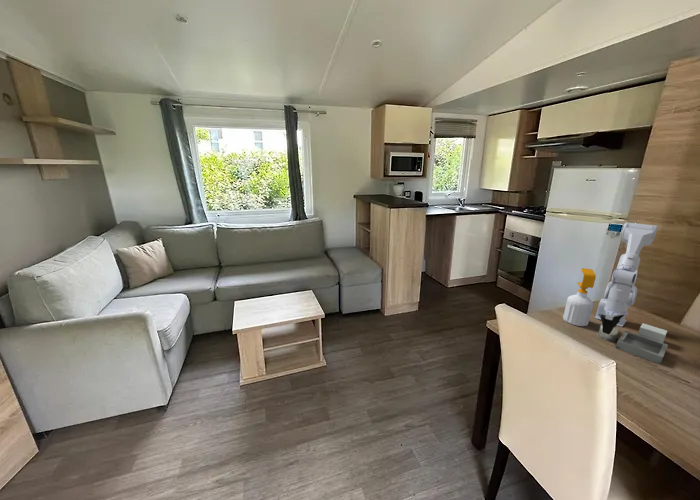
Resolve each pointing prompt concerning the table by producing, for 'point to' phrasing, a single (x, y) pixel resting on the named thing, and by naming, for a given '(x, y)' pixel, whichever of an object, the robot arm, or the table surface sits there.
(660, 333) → the pale upright block
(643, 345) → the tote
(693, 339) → the table surface
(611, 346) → the table surface
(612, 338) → the metal can
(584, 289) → the soap bottle
